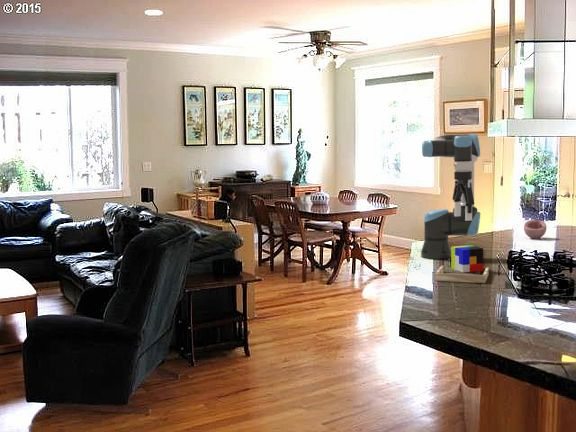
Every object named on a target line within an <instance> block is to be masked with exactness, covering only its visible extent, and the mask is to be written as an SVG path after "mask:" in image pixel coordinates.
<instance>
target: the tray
mask: <svg viewBox="0 0 576 432" xmlns="http://www.w3.org/2000/svg"><path fill="white" fill-rule="evenodd" d="M444 267H445V266H444V265H440V266H439V267H438V269H437V270H436V271H435V272H434V281H437V282H456V283H479V284H486V282H487V279H488V277H489V274H490V273H489V271H490V270H489V269H490V268H489V267H485V270H483V273H482V274H463V273H446V272H445V273H444V271H445V270H444V269H445V268H444Z"/></svg>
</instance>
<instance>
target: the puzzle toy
mask: <svg viewBox="0 0 576 432" xmlns="http://www.w3.org/2000/svg"><path fill="white" fill-rule="evenodd" d="M450 248H451V257H450V260H451V262H450V263H451V264H450V266H451V267H450V268H451V269H452V270H454V271H457V270H458V271H457V272H461V273H471V272H481V271H483V272H484V248H483V247H480V246H476V245H471V244H470V245H469V244H467V245H456V246H454V245H453V246H450Z"/></svg>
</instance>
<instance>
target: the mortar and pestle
mask: <svg viewBox="0 0 576 432" xmlns="http://www.w3.org/2000/svg"><path fill="white" fill-rule="evenodd" d="M523 231H524V233H525V235H526V236H527V237H529V238H530V239H535V240H537V239H540V238H542V237H543V236H544V235H546V231H547V224H546V222H544V221H543V220H539V219H537V218H534V219H530V220H528V221H526V222H525V223H524V226H523Z"/></svg>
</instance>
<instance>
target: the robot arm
mask: <svg viewBox="0 0 576 432" xmlns="http://www.w3.org/2000/svg"><path fill="white" fill-rule="evenodd" d="M421 144H422V145H421V153H422V154H421V155H422V157H424V158H434V157H435V158H437V157H438V158H439V157H443V158H453V162H454V163H453V164H452V165H453V167H454V169H453V170H454V172H453V173H454V174H453V175H454V176H453V178H454V189H453V193H452V201H453V202H454V203H453V204H454V207H453V208H452V211H449V209H447V208H445V209H444V208H443V209H440V208H439V209H433V210H429V211H426V212H425V213H424V220H423V222H424V226H423V227H424V229H423V230H424V231H423V232H424V236H423V237H424V241H423V245H422V248H421V250H420V251H421V252H420V257H422V258H425V259H429V260H430V259H433V260H434V259H435V260H439V259H441V260H442V259H451V245H450V242H449V236H450V237H451V236H452V237H453V236H454V237H455V236H456V237H457V236H458V237H469V236H470V237H473V236H477V235H478V233H479V228H480V221H481V212H479V211H478V208H477V207H476V206H475V163H476V162H477V161H478V158H479V157H480V156H481V148H480V139H479V137H478V135H477V134H476V133H465V134H463V133H462V134H461V133H460V134H459V133H458V134H444V135H439V136H436V137H433V138H432V139H430V140H429V139H427V140H423V141H422V143H421Z"/></svg>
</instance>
